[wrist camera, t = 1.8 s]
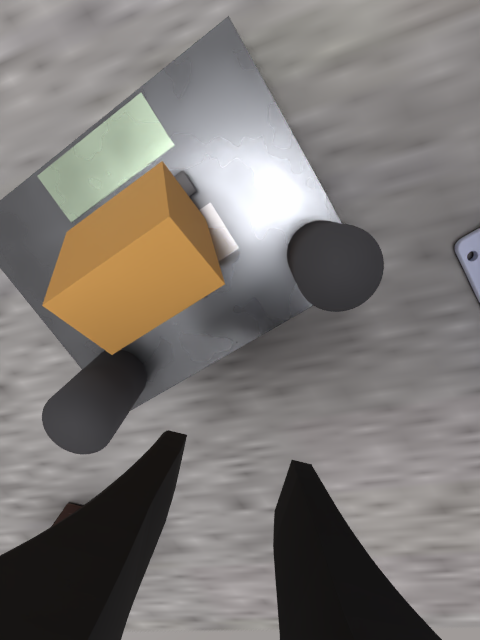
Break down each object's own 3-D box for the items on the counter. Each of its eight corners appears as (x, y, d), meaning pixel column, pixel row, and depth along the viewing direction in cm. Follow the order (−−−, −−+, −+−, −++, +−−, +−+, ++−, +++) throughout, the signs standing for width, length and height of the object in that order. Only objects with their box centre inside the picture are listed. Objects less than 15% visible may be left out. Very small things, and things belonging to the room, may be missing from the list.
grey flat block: (355, 265, 19) (369, 273, 17) (135, 394, 22) (119, 417, 20) (233, 43, 17) (228, 14, 14) (3, 224, 20) (-34, 227, 17)
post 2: (364, 263, 17) (398, 283, 12) (306, 297, 17) (321, 326, 13) (332, 206, 16) (358, 206, 12) (274, 243, 17) (278, 255, 12)
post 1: (158, 384, 19) (128, 434, 15) (114, 409, 20) (73, 465, 16) (123, 338, 19) (82, 378, 14) (79, 366, 19) (27, 412, 15)
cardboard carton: (207, 203, 17) (232, 279, 12) (114, 267, 18) (105, 359, 13) (166, 146, 15) (177, 210, 10) (66, 221, 16) (35, 310, 11)
